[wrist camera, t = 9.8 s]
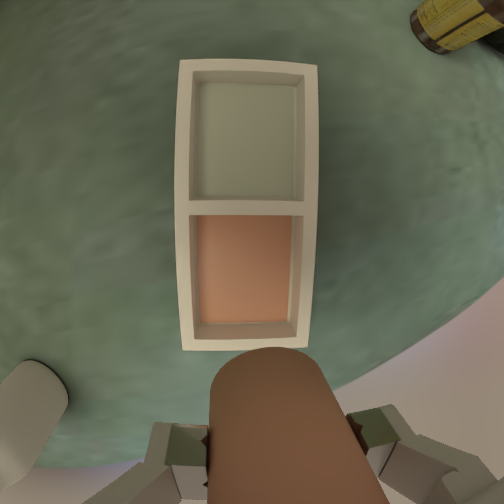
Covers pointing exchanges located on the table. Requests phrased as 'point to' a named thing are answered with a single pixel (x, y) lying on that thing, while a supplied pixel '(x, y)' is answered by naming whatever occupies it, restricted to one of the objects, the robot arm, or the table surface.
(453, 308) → the table surface
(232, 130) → the sorting tray
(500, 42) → the squash
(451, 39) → the sauce bottle
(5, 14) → the table surface
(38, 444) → the milk bottle
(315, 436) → the brown egg
